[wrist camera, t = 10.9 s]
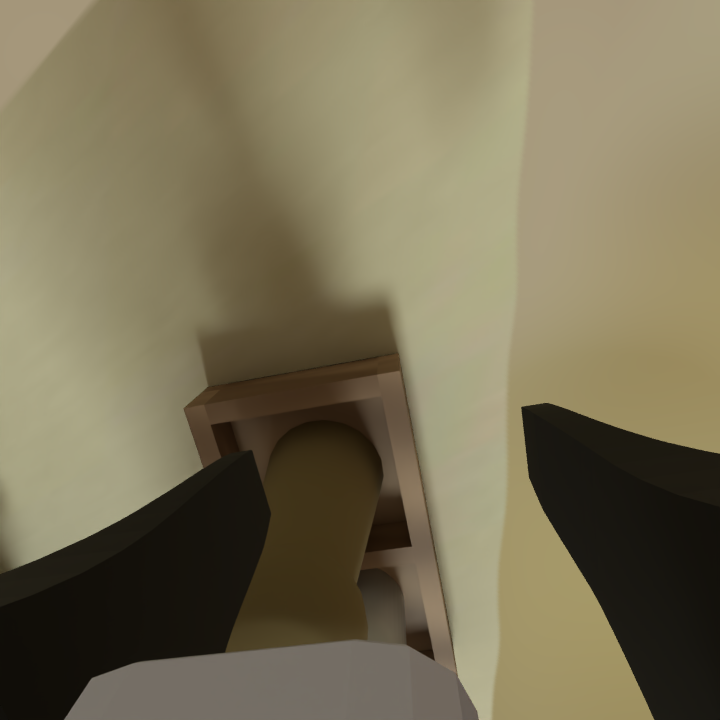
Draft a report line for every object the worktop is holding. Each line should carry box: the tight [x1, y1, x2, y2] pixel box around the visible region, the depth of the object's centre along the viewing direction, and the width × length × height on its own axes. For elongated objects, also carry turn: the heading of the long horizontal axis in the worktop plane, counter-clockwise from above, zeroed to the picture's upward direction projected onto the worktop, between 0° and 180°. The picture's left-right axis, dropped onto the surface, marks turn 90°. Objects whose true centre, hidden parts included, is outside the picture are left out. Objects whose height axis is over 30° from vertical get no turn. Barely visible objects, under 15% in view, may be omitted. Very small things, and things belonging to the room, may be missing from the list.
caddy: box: [183, 353, 458, 677], centre depth 23 cm, size 19×10×3 cm, turn 12°
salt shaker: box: [357, 568, 407, 645], centre depth 20 cm, size 6×6×10 cm
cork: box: [225, 420, 384, 653], centre depth 17 cm, size 6×6×11 cm
